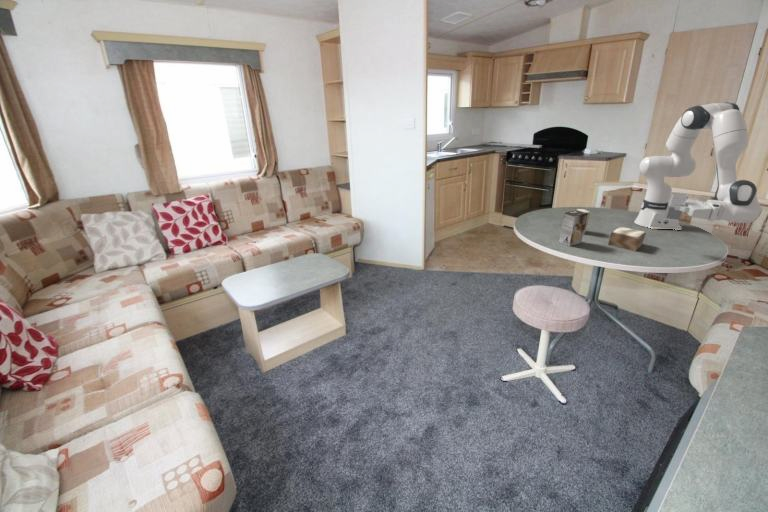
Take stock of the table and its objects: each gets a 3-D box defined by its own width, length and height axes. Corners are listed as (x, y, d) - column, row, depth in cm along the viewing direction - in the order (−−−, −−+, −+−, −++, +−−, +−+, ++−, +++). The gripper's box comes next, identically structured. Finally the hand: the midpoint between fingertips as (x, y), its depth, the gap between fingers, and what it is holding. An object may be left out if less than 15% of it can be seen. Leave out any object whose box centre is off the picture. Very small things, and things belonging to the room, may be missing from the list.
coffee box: (570, 239, 188) (576, 209, 182) (581, 243, 183) (588, 213, 177) (558, 242, 185) (564, 212, 178) (569, 246, 179) (576, 215, 173)
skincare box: (571, 229, 202) (575, 208, 197) (578, 229, 202) (583, 208, 197) (577, 233, 196) (582, 212, 191) (585, 233, 196) (590, 212, 191)
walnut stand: (642, 244, 181) (646, 231, 179) (635, 251, 174) (639, 237, 171) (615, 238, 189) (619, 226, 187) (608, 244, 182) (611, 231, 179)
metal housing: (677, 216, 170) (684, 193, 166) (679, 219, 166) (687, 196, 162) (664, 215, 172) (671, 192, 168) (666, 218, 168) (673, 195, 164)
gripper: (707, 197, 169) (671, 194, 175) (720, 208, 152) (680, 204, 158) (702, 210, 171) (667, 206, 177) (714, 222, 155) (675, 218, 161)
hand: (673, 205), depth 167 cm, fingers closed on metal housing, 5 cm apart
